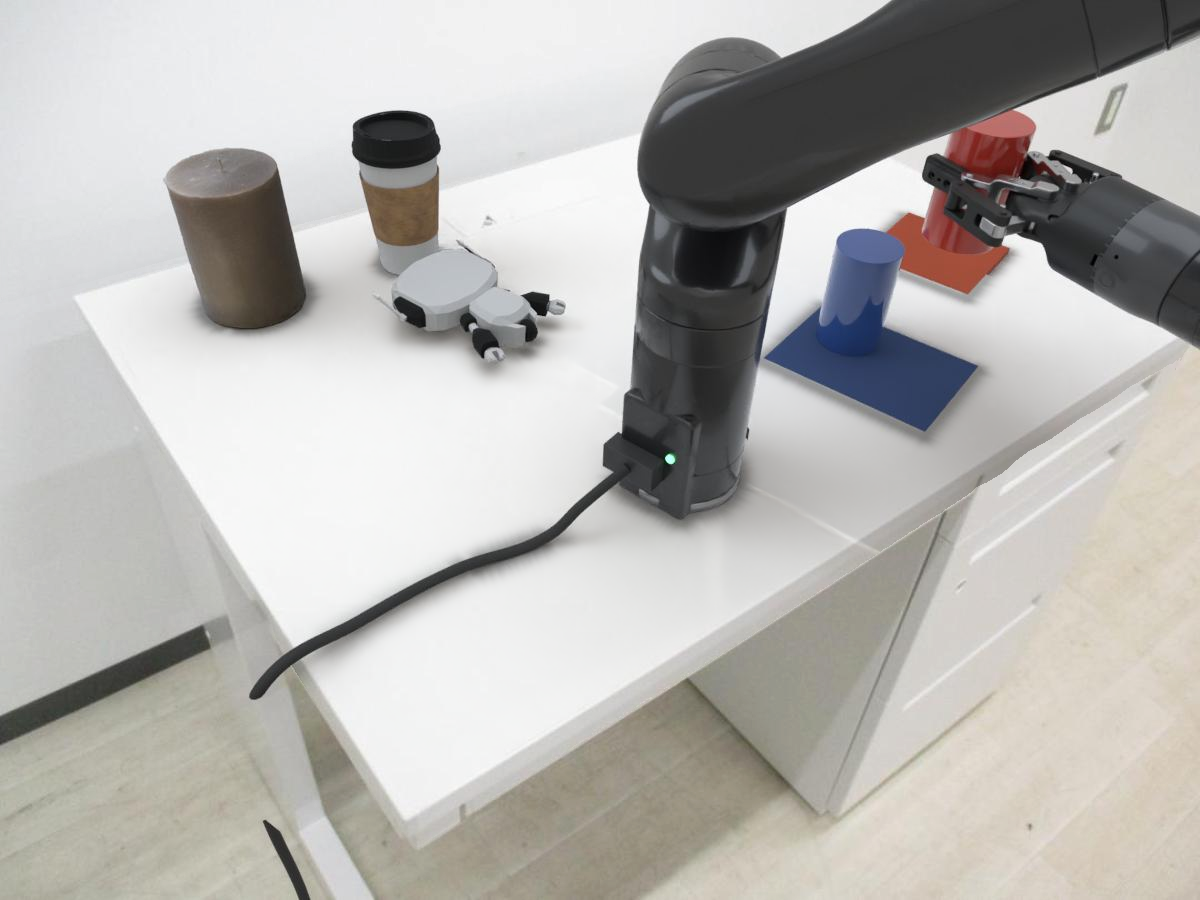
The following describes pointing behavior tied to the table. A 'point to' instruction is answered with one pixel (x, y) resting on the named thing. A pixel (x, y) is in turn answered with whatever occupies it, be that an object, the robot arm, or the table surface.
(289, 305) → the pillar candle
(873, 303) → the blue glossy cylinder
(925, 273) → the red mat
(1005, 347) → the table surface
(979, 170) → the red glossy cylinder
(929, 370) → the blue mat
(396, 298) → the robot toy
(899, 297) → the table surface
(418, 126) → the coffee cup
